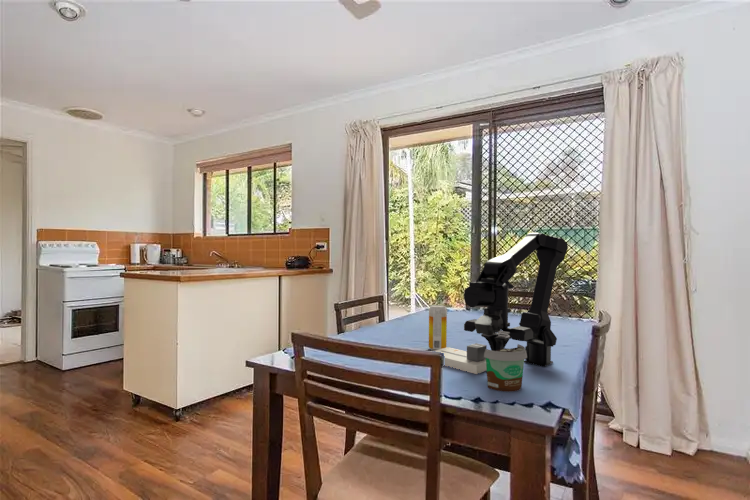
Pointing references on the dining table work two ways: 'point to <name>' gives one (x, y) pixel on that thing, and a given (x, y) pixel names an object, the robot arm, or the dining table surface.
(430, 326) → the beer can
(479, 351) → the fader cap
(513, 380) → the food container
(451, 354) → the fader console
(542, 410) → the dining table surface
